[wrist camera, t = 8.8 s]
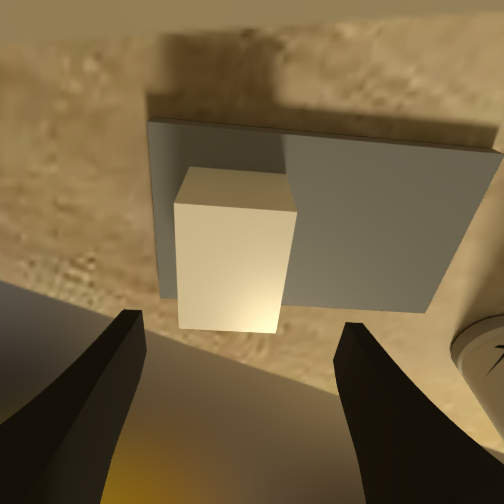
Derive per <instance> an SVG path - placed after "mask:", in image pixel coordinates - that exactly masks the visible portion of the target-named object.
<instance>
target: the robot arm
mask: <svg viewBox="0 0 504 504" xmlns="http://www.w3.org/2000/svg"><path fill="white" fill-rule="evenodd" d="M146 351H147V349H146V342H145V332H144V323H143V315H142V310H127V309H124V310H123V311H121V312H120V313H119V315H118V316H117V317H116V318H115V319H114V320H113V321H112V323H111V324H110V325H109V326H108V327H107V328H106V329H105V330H104V331H103V333H102V334H101V335H100V336H99V337H98V338H97V339H96V340H95V341H94V342H93V343H92V344H91V345H90V346H89V347H88V348H87V349H86V351H85V352H84V353H83V354H82V355H81V356H80V357H79V358H78V359H77V360H76V361H75V362H74V363H73V364H71V365H70V366H69V367H68V368H67V369H66V370H65V371H64V372H63V373H62V374H61V375H60V376H59V377H58V378H57V379H55V380H54V382H52V383H51V384H50V385H49V386H48V387H47V388H45V389H44V390H43V391H42V392H41V393H40V394H38V395H37V396H36V397H35V398H34V399H33V400H31V401H30V402H29V403H27V404H26V405H25V406H24V407H23V408H21V409H20V410H19V411H17V412H16V413H15V414H14V415H12V416H11V417H10V418H8V419H7V420H6V421H4V422H3V423H2V424H0V504H100V501H101V497H102V493H103V489H104V485H105V482H106V478H107V474H108V470H109V467H110V463H111V459H112V456H113V453H114V450H115V447H116V444H117V441H118V438H119V435H120V433H121V430H122V427H123V425H124V422H125V419H126V416H127V414H128V411H129V408H130V405H131V403H132V400H133V397H134V394H135V391H136V389H137V385H138V383H139V380H140V377H141V372H142V369H143V364H144V360H145V356H146ZM333 363H334V370H335V377H336V383H337V388H338V392H339V396H340V399H341V402H342V406H343V410H344V413H345V417H346V420H347V423H348V427H349V431H350V434H351V437H352V441H353V444H354V448H355V451H356V455H357V459H358V463H359V468H360V473H361V478H362V483H363V489H364V494H365V499H366V504H504V464H503V463H501V462H500V461H499V460H497V459H496V458H495V457H494V456H492V455H491V454H490V453H489V452H487V451H486V450H485V449H484V448H483V447H481V446H480V445H479V444H478V443H477V442H475V441H474V440H473V439H472V438H471V437H469V436H468V435H467V434H466V433H465V432H464V431H462V430H461V429H460V428H459V427H458V426H457V425H456V424H455V423H454V422H453V421H451V420H450V419H449V418H448V417H447V416H446V415H445V414H444V413H443V412H442V411H441V410H440V409H439V408H437V407H436V406H435V405H434V404H433V403H432V402H431V401H430V400H429V399H428V398H427V397H426V396H425V394H424V393H423V392H422V391H421V390H420V389H419V388H418V387H417V386H416V385H415V384H414V383H413V382H412V381H411V380H410V379H409V378H408V376H407V375H406V374H405V373H404V372H403V371H402V370H401V369H400V367H399V366H398V365H397V364H396V363H395V362H394V361H393V359H392V358H391V357H390V356H389V355H388V353H387V352H386V351H385V350H384V349H383V347H382V346H381V345H380V344H379V343H378V341H377V340H376V339H375V338H374V337H373V335H372V334H371V333H370V332H369V330H368V329H367V328H366V327H365V326H364V324H363V323H351V322H346V323H345V326H344V329H343V332H342V335H341V338H340V341H339V344H338V347H337V350H336V353H335V356H334V359H333Z"/></svg>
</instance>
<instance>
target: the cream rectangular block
mask: <svg viewBox="0 0 504 504" xmlns="http://www.w3.org/2000/svg"><path fill="white" fill-rule="evenodd" d="M296 217H297V209H296V206H295V203H294V199H293V196H292V192H291V189H290V186H289V182H288V179H287V176H286V174H278V173H265V172H253V171H240V170H228V169H215V168H203V167H189V169H188V171H187V174H186V176H185V178H184V181H183V183H182V185H181V188H180V190H179V192H178V194H177V197H176V199H175V201H174V221H175V245H176V268H177V292H178V316H179V328H182V329H202V330H221V331H241V332H261V333H276V329H277V323H278V318H279V312H280V307H281V301H282V295H283V290H284V284H285V279H286V273H287V267H288V262H289V256H290V251H291V245H292V239H293V234H294V228H295V222H296Z"/></svg>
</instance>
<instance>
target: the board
mask: <svg viewBox="0 0 504 504" xmlns="http://www.w3.org/2000/svg"><path fill="white" fill-rule="evenodd" d="M147 128H148V142H149V155H150V169H151V182H152V196H153V209H154V223H155V236H156V250H157V263H158V277H159V290H160V298H171V299H178V292H177V268H176V245H175V221H174V201H175V199H176V197H177V194H178V192H179V190H180V188H181V185H182V183H183V181H184V178H185V176H186V174H187V171H188V169H189V167H203V168H215V169H228V170H240V171H253V172H265V173H278V174H286V176H287V179H288V182H289V186H290V189H291V192H292V196H293V199H294V203H295V206H296V209H297V217H296V222H295V228H294V234H293V239H292V245H291V251H290V256H289V262H288V267H287V273H286V279H285V284H284V290H283V295H282V301H281V305H290V306H307V307H324V308H341V309H358V310H375V311H392V312H409V313H425V312H426V310H427V308H428V306H429V304H430V302H431V300H432V298H433V296H434V294H435V292H436V290H437V288H438V286H439V284H440V282H441V280H442V278H443V276H444V275H445V273H446V271H447V269H448V267H449V265H450V263H451V261H452V259H453V257H454V255H455V253H456V251H457V249H458V247H459V245H460V243H461V241H462V239H463V237H464V235H465V233H466V231H467V229H468V227H469V225H470V223H471V221H472V219H473V217H474V215H475V213H476V211H477V209H478V207H479V205H480V203H481V201H482V199H483V197H484V195H485V193H486V191H487V189H488V187H489V185H490V183H491V181H492V179H493V177H494V175H495V173H496V171H497V169H498V167H499V165H500V163H501V161H502V159H503V157H504V154H503V153H501V152H498V151H496V150H494V149H489V148H478V147H467V146H456V145H445V144H435V143H424V142H413V141H402V140H392V139H381V138H370V137H359V136H348V135H338V134H327V133H316V132H305V131H294V130H284V129H273V128H262V127H251V126H240V125H230V124H219V123H208V122H197V121H187V120H176V119H165V118H154V117H152V118H151V119H149V120H148V121H147Z"/></svg>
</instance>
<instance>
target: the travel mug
mask: <svg viewBox="0 0 504 504" xmlns="http://www.w3.org/2000/svg"><path fill="white" fill-rule="evenodd" d="M451 358H452V361H453V362H454V364H455V365H456V367H457V369H458V370H459V372H460V373H461V375H462V376H463V378H464V379H465V381H466V383H467V384H468V386H469V387H470V389H471V390H472V392H473V394H474V395H475V397H476V398H477V400H478V401H479V403H480V404H481V406H482V408H483V409H484V411H485V412H486V414H487V415H488V417H489V419H490V420H491V422H492V423H493V425H494V426H495V428H496V429H497V431H498V433H499V434H500V436H501V437H502V439H503V440H504V315H501V316H495V317H491V318H488V319H484V320H482V321H480V322H477V323H475V324H474V325H472V326H470V327H469V328H467V329H466V330H465V331H463V332H462V333H461V334H460V335H459V336H458V337H457V339H456V340H455V342H454V343H453V346H452V349H451Z"/></svg>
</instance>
